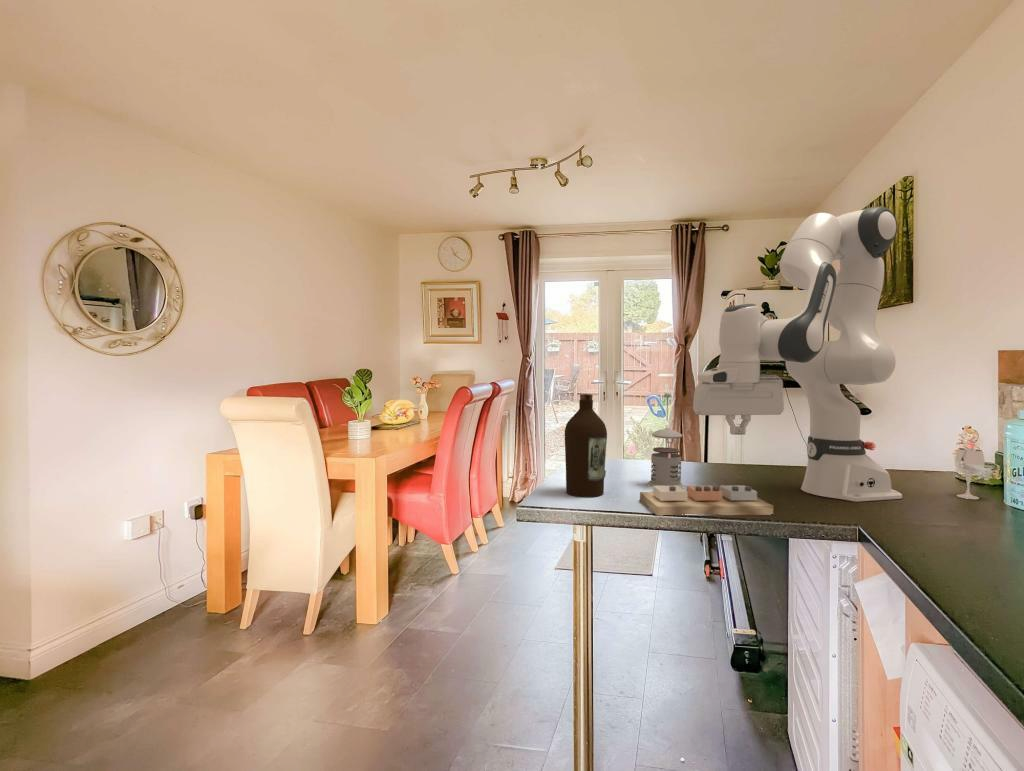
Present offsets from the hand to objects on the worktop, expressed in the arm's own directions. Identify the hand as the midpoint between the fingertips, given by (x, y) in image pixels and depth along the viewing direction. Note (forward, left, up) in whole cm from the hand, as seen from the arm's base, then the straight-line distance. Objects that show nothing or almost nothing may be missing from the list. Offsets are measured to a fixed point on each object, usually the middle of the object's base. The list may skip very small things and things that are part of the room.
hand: (737, 434), depth 129 cm
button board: (+8, +1, -17) cm, 19 cm away
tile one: (+16, +1, -14) cm, 22 cm away
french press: (+9, -22, -17) cm, 29 cm away
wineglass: (-63, -7, -17) cm, 65 cm away
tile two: (0, +1, -14) cm, 14 cm away
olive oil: (+33, -13, -17) cm, 39 cm away
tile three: (+8, +1, -14) cm, 17 cm away
